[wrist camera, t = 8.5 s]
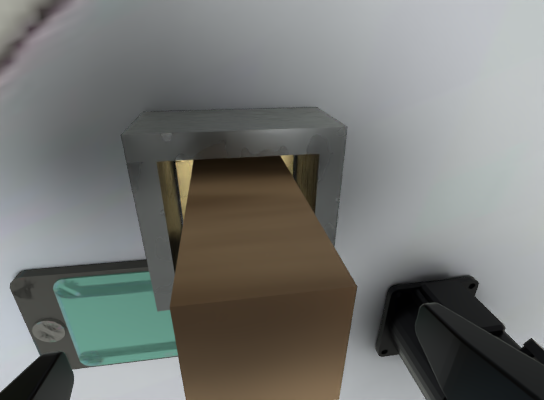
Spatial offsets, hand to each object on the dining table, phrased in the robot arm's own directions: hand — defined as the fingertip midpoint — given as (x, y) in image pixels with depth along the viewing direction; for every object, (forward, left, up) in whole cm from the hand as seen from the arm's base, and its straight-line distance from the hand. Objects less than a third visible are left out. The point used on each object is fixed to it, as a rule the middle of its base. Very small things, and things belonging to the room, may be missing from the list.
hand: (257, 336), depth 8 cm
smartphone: (-8, +4, -10) cm, 14 cm away
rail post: (0, 0, -9) cm, 9 cm away
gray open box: (0, 0, -10) cm, 10 cm away
